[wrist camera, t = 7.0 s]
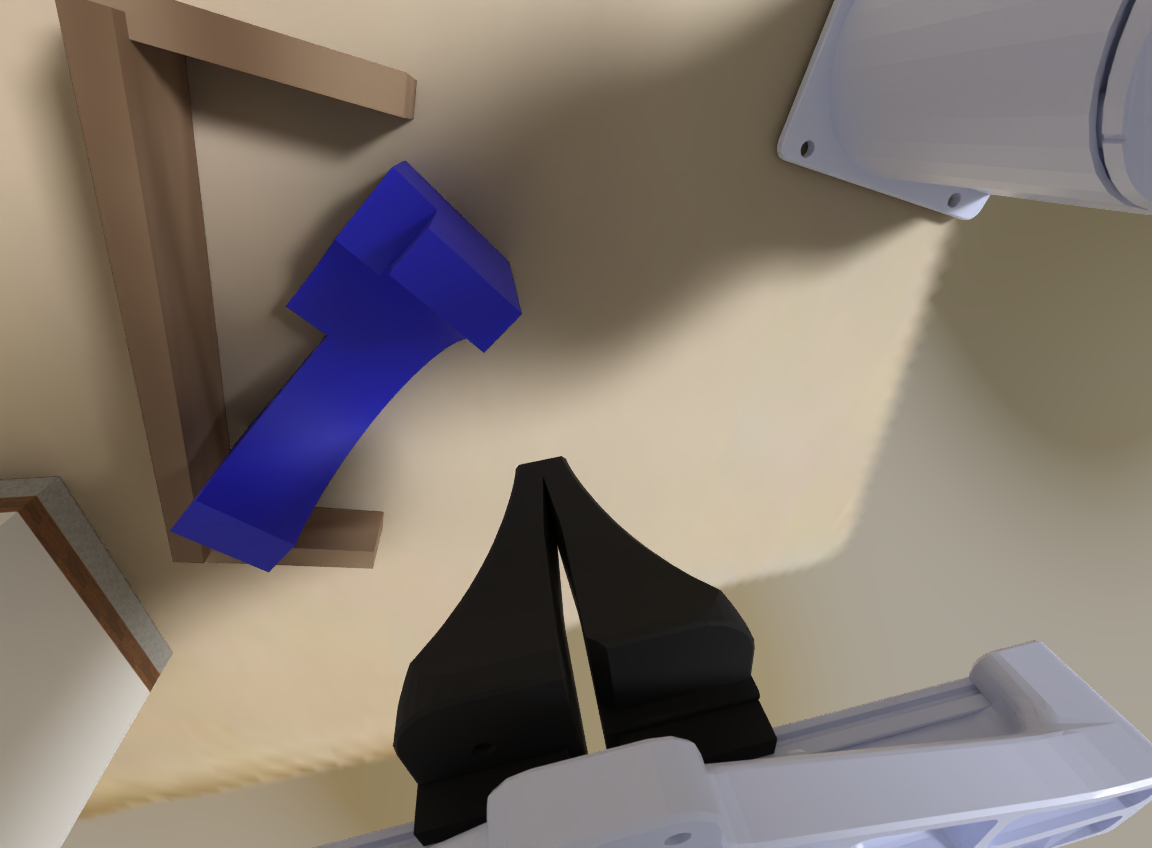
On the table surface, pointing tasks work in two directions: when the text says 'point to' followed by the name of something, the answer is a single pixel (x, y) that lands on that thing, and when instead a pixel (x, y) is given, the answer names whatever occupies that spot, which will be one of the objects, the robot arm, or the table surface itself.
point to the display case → (62, 661)
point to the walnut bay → (191, 227)
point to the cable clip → (354, 359)
